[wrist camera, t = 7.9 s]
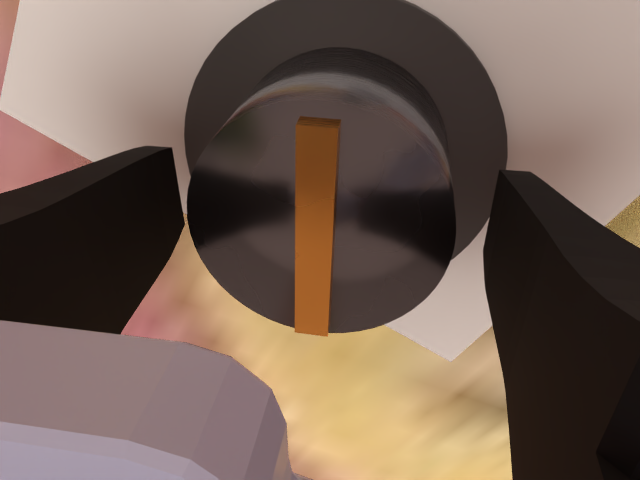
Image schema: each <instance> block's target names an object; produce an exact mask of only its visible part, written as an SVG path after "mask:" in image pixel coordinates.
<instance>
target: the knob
mask: <svg viewBox="0 0 640 480" xmlns="http://www.w3.org/2000/svg"><path fill="white" fill-rule="evenodd" d="M186 204H187V219H188V224H189V229H190V234H191V236H192V239H193V242H194V245H195V248H196V250H197V252H198V254H199V256H200V258H201V260H202V261H203V263H204V264H205V266H206V267H207V269H208V270H209V272H210V273H211V274H212V276H213V277H214V278H215V279H216V280H217V282H218V283H219V284H220V285H221V286H222V287H223V288H224V289H225V290H226V291H227V292H228V293H229V294H230V295H232V296H233V297H234V298H235V299H237V300H238V301H239V302H241V303H242V304H243V305H245V306H246V307H248V308H250V309H251V310H253V311H254V312H256V313H258V314H260V315H262V316H264V317H266V318H268V319H270V320H273V321H275V322H278V323H280V324H283V325H286V326H290V327H293V328H295V332H297V333H305V334H312V335H320V336H327V337H328V333H347V332H355V331H362V330H366V329H371V328H375V327H378V326H381V325H384V324H387V323H389V322H391V321H393V320H396V319H398V318H400V317H402V316H403V315H405V314H407V313H408V312H410V311H411V310H413V309H414V308H416V307H417V306H418V305H419V304H420V303H422V302H423V301H424V300H425V299H426V298H427V297H428V296H429V295H430V294H431V293H432V291H433V290H434V289H435V288H436V287H437V285H438V284H439V282H440V281H441V279H442V278H443V276H444V274H445V272H446V270H447V268H448V266H449V264H450V261H451V258H452V254H453V251H454V247H455V239H456V213H455V204H454V194H453V185H452V175H451V166H450V156H449V147H448V138H447V133H446V128H445V124H444V121H443V118H442V116H441V113H440V111H439V109H438V107H437V105H436V103H435V101H434V99H433V98H432V97H431V95H430V94H429V92H428V91H427V90H426V88H425V87H424V86H423V85H422V84H421V83H420V82H419V81H418V80H417V79H416V78H415V77H414V76H413V75H412V74H411V73H409V72H408V71H407V70H406V69H404V68H403V67H401V66H400V65H398V64H396V63H395V62H393V61H391V60H390V59H387V58H385V57H383V56H380V55H378V54H375V53H372V52H368V51H365V50H361V49H354V48H347V47H329V48H322V49H315V50H311V51H308V52H304V53H301V54H298V55H296V56H294V57H292V58H289V59H287V60H286V61H284V62H282V63H281V64H279V65H278V66H276V67H275V68H273V69H272V70H271V71H270V72H269V73H267V74H266V75H265V76H264V77H263V78H262V79H261V81H260V82H259V83H258V84H257V85H256V86H255V87H254V89H253V90H252V91H251V92H250V94H249V95H248V96H247V97H246V98H245V100H244V101H243V102H242V103H241V105H240V106H239V107H238V108H237V109H236V111H235V112H234V113H233V114H232V116H231V117H230V118H229V119H228V120H227V122H226V123H225V124H224V125H223V126H222V128H221V129H220V130H219V131H218V133H217V134H216V135H215V136H214V137H213V139H212V140H211V141H210V142H209V144H208V145H207V146H206V147H205V149H204V151H203V152H202V154H201V155H200V157H199V158H198V160H197V162H196V165H195V167H194V169H193V172H192V174H191V178H190V182H189V186H188V192H187V203H186Z"/></svg>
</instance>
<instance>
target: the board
mask: <svg viewBox="0 0 640 480" xmlns="http://www.w3.org/2000/svg"><path fill="white" fill-rule="evenodd" d="M329 47H347V48H354V49H361V50H365V51H368V52H372V53H375V54H378V55H380V56H383V57H385V58H387V59H390V60H391V61H393V62H395V63H396V64H398V65H400V66H401V67H403V68H404V69H406V70H407V71H408V72H409V73H411V74H412V75H413V76H414V77H415V78H416V79H417V80H418V81H419V82H420V83H421V84H422V85H423V86H424V87H425V88H426V90H427V91H428V92H429V94H430V95H431V97H432V98H433V99H434V101H435V103H436V105H437V107H438V109H439V111H440V113H441V116H442V118H443V121H444V124H445V128H446V133H447V138H448V147H449V156H450V166H451V175H452V185H453V194H454V204H455V213H456V239H455V247H454V251H453V254H452V258H451V261H450V264H449V266H448V268H447V270H446V272H445V274H444V276H443V278H442V279H441V281H440V282H439V284H438V285H437V287H436V288H435V289H434V290H433V291H432V293H431V294H430V295H429V296H428V297H427V298H426V299H425V300H424V301H423V302H422V303H420V304H419V305H418V306H417V307H416V308H414V309H413V310H411V311H410V312H408V313H407V314H405V315H403V316H402V317H400V318H398V319H396V320H393V321H391V322H389V323H387V324H384V325H385V326H387V327H389V328H391V329H393V330H394V331H396V332H398V333H400V334H402V335H403V336H405V337H407V338H409V339H411V340H412V341H414V342H416V343H418V344H419V345H421V346H423V347H425V348H427V349H428V350H430V351H432V352H434V353H436V354H437V355H439V356H441V357H443V358H444V359H446V360H448V361H450V362H452V361H453V360H454V359H455V358H456V357H457V356H458V355H460V354H461V353H462V352H463V351H464V350H465V349H466V348H467V347H469V346H470V345H471V344H472V343H473V342H474V341H475V340H476V339H478V338H479V337H480V336H481V335H482V334H483V333H484V332H486V331H487V330H488V329H489V328H490V327H491V326H492V320H491V315H490V311H489V306H488V301H487V296H486V291H485V282H484V265H483V247H484V242H485V237H486V232H487V227H488V222H489V217H490V212H491V208H492V203H493V198H494V193H495V188H496V183H497V178H498V173H499V169H500V170H515V171H530V172H532V173H533V174H535V175H536V176H538V177H539V178H541V179H542V180H543V181H545V182H546V183H547V184H548V185H550V186H551V187H552V188H554V189H555V190H556V191H557V192H559V193H560V194H561V195H562V196H564V197H565V198H566V199H568V200H569V201H570V202H571V203H573V204H574V205H575V206H577V207H578V208H579V209H581V210H582V211H583V212H585V213H586V214H588V215H589V216H590V217H592V218H593V219H595V220H596V221H597V222H599V223H600V224H602V225H603V226H605V225H607V224H608V223H609V222H610V221H611V220H612V219H613V218H614V217H616V216H617V215H618V214H619V213H620V212H621V211H622V210H623V209H625V208H626V207H627V206H628V205H629V204H630V203H631V202H633V201H634V200H635V199H636V198H637V197H638V196H639V195H640V0H20V3H19V8H18V13H17V18H16V23H15V28H14V33H13V38H12V43H11V48H10V53H9V58H8V63H7V68H6V73H5V78H4V83H3V88H2V93H1V98H0V110H1V111H3V112H4V113H6V114H8V115H10V116H12V117H13V118H15V119H17V120H19V121H20V122H22V123H24V124H26V125H28V126H29V127H31V128H33V129H35V130H37V131H38V132H40V133H42V134H44V135H46V136H47V137H49V138H51V139H53V140H54V141H56V142H58V143H60V144H62V145H63V146H65V147H67V148H69V149H71V150H72V151H74V152H76V153H78V154H80V155H81V156H83V157H85V158H87V159H88V160H90V161H92V162H96V161H98V160H101V159H104V158H106V157H109V156H112V155H115V154H118V153H120V152H123V151H127V150H130V149H133V148H137V147H142V146H160V147H172V150H173V156H174V162H175V168H176V174H177V180H178V186H179V192H180V198H181V204H182V210H183V213H185V214H187V204H186V203H187V192H188V186H189V182H190V178H191V174H192V172H193V169H194V167H195V165H196V162H197V160H198V158H199V157H200V155H201V154H202V152H203V151H204V149H205V147H206V146H207V145H208V144H209V142H210V141H211V140H212V139H213V137H214V136H215V135H216V134H217V133H218V131H219V130H220V129H221V128H222V126H223V125H224V124H225V123H226V122H227V120H228V119H229V118H230V117H231V116H232V114H233V113H234V112H235V111H236V109H237V108H238V107H239V106H240V105H241V103H242V102H243V101H244V100H245V98H246V97H247V96H248V95H249V94H250V92H251V91H252V90H253V89H254V87H255V86H256V85H257V84H258V83H259V82H260V81H261V79H262V78H263V77H264V76H265V75H266V74H267V73H269V72H270V71H271V70H272V69H273V68H275V67H276V66H278V65H279V64H281V63H282V62H284V61H286V60H287V59H289V58H292V57H294V56H296V55H298V54H301V53H304V52H308V51H311V50H315V49H322V48H329Z"/></svg>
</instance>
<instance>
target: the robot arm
mask: <svg viewBox="0 0 640 480" xmlns="http://www.w3.org/2000/svg"><path fill="white" fill-rule="evenodd" d="M184 225H185V222H184V216H183V210H182V204H181V198H180V192H179V186H178V180H177V174H176V168H175V162H174V156H173V150H172V147H160V146H142V147H137V148H133V149H130V150H127V151H123V152H120V153H118V154H115V155H112V156H109V157H106V158H104V159H101V160H98V161H96V162H93V163H90V164H88V165H85V166H82V167H80V168H77V169H74V170H72V171H69V172H66V173H63V174H60V175H57V176H54V177H51V178H48V179H45V180H43V181H40V182H37V183H34V184H31V185H28V186H25V187H22V188H18V189H15V190H11V191H8V192H4V193H1V194H0V480H312V479H309V478H307V477H304V476H301V475H299V474H296V473H293V472H292V469H291V465H290V461H289V457H288V440H287V423H286V421H285V419H284V417H283V414H282V412H281V410H280V407H279V405H278V403H277V401H276V398H275V396H274V394H273V392H272V389H271V388H270V387H269V386H268V385H267V384H265V383H264V382H263V381H262V380H260V379H259V378H258V377H257V376H255V375H254V374H253V373H251V372H250V371H249V370H248V369H246V368H245V367H244V366H243V365H241V364H240V363H239V362H237V361H236V360H235V359H234V358H232V357H231V356H228V355H225V354H221V353H218V352H215V351H212V350H209V349H205V348H202V347H199V346H196V345H192V344H189V343H186V342H178V341H170V340H162V339H153V338H145V337H136V336H128V335H120V334H121V332H122V330H123V329H124V327H125V326H126V324H127V322H128V321H129V319H130V318H131V316H132V315H133V313H134V312H135V310H136V309H137V307H138V306H139V304H140V303H141V301H142V300H143V298H144V297H145V295H146V294H147V292H148V291H149V289H150V288H151V286H152V285H153V283H154V282H155V280H156V279H157V277H158V276H159V274H160V273H161V271H162V270H163V268H164V267H165V265H166V263H167V262H168V260H169V259H170V257H171V255H172V253H173V250H174V248H175V246H176V244H177V242H178V239H179V237H180V235H181V232H182V230H183V227H184ZM483 265H484V282H485V291H486V296H487V301H488V306H489V311H490V315H491V320H492V325H493V329H494V334H495V339H496V343H497V348H498V353H499V357H500V362H501V367H502V372H503V378H504V384H505V391H506V401H507V412H508V424H509V435H510V449H511V463H512V476H513V480H640V248H639V247H637V246H635V245H633V244H632V243H630V242H628V241H627V240H625V239H623V238H622V237H620V236H619V235H617V234H616V233H614V232H612V231H611V230H609V229H608V228H606V227H605V226H603V225H602V224H600V223H599V222H597V221H596V220H595V219H593V218H592V217H590V216H589V215H588V214H586V213H585V212H583V211H582V210H581V209H579V208H578V207H577V206H575V205H574V204H573V203H571V202H570V201H569V200H568V199H566V198H565V197H564V196H562V195H561V194H560V193H559V192H557V191H556V190H555V189H554V188H552V187H551V186H550V185H548V184H547V183H546V182H545V181H543V180H542V179H541V178H539V177H538V176H536V175H535V174H533V173H532V172H530V171H515V170H500V169H499V173H498V178H497V183H496V188H495V193H494V198H493V203H492V208H491V212H490V217H489V222H488V227H487V232H486V237H485V242H484V247H483Z"/></svg>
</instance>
